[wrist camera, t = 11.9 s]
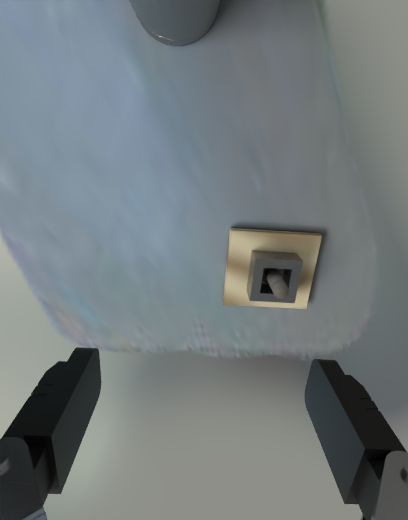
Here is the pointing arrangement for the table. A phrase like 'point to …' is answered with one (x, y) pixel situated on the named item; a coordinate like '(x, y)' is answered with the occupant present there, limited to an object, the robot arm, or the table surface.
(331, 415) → the robot arm
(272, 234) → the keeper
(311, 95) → the table surface
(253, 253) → the link
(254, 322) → the table surface
